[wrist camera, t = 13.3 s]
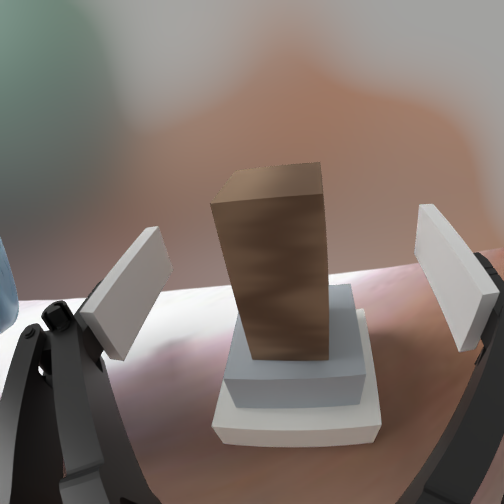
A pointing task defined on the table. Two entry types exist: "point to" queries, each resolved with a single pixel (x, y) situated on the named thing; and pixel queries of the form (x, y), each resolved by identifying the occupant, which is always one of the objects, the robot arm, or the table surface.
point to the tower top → (302, 366)
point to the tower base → (304, 416)
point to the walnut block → (277, 259)
